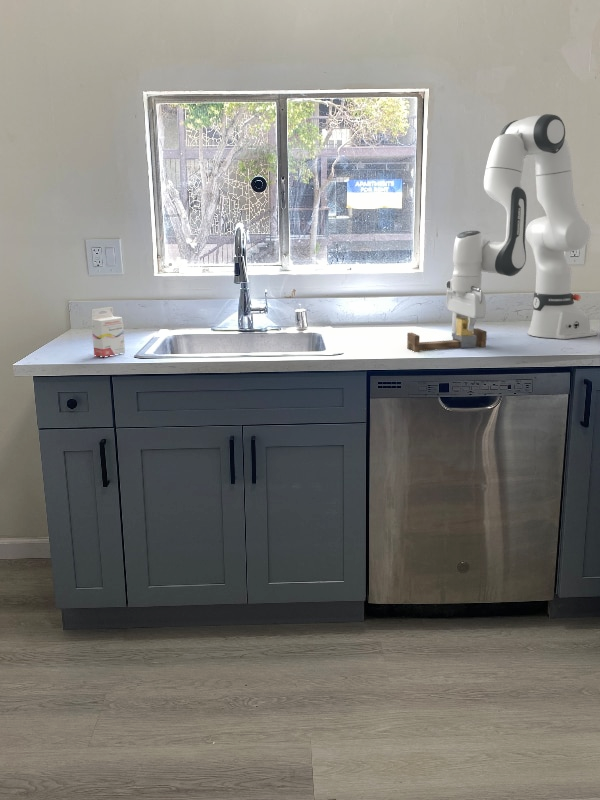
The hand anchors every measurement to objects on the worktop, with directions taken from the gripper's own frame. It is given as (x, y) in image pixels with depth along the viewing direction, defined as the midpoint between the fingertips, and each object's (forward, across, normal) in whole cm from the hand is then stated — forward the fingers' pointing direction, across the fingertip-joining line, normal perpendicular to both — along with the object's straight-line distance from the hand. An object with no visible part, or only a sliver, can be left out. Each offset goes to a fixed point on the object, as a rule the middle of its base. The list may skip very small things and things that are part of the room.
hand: (464, 329), depth 230 cm
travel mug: (+6, +16, -7) cm, 18 cm away
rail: (+6, 0, +6) cm, 8 cm away
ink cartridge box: (+6, +24, +109) cm, 112 cm away
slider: (+6, 0, 0) cm, 6 cm away
